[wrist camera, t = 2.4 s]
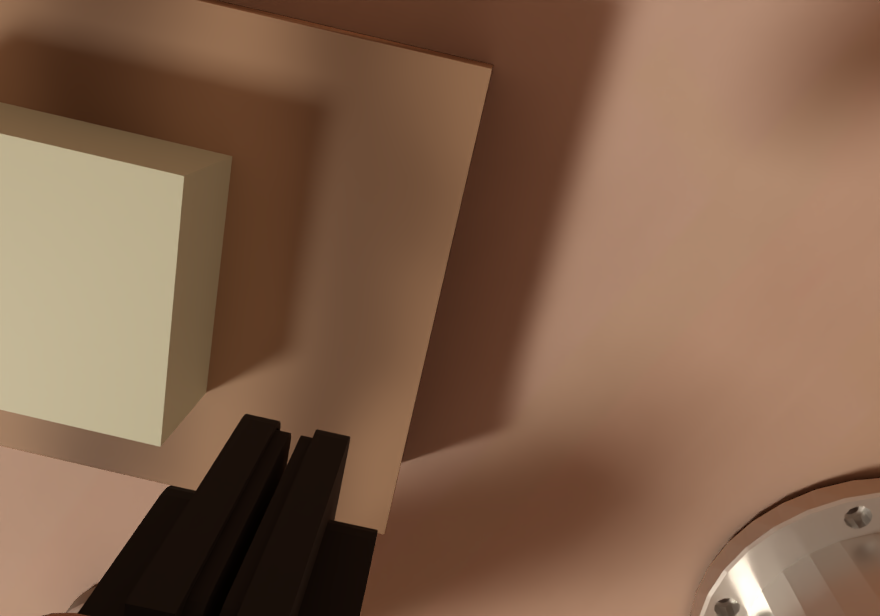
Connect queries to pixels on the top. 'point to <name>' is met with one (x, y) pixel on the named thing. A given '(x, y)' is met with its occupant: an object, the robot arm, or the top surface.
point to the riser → (276, 214)
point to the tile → (106, 274)
